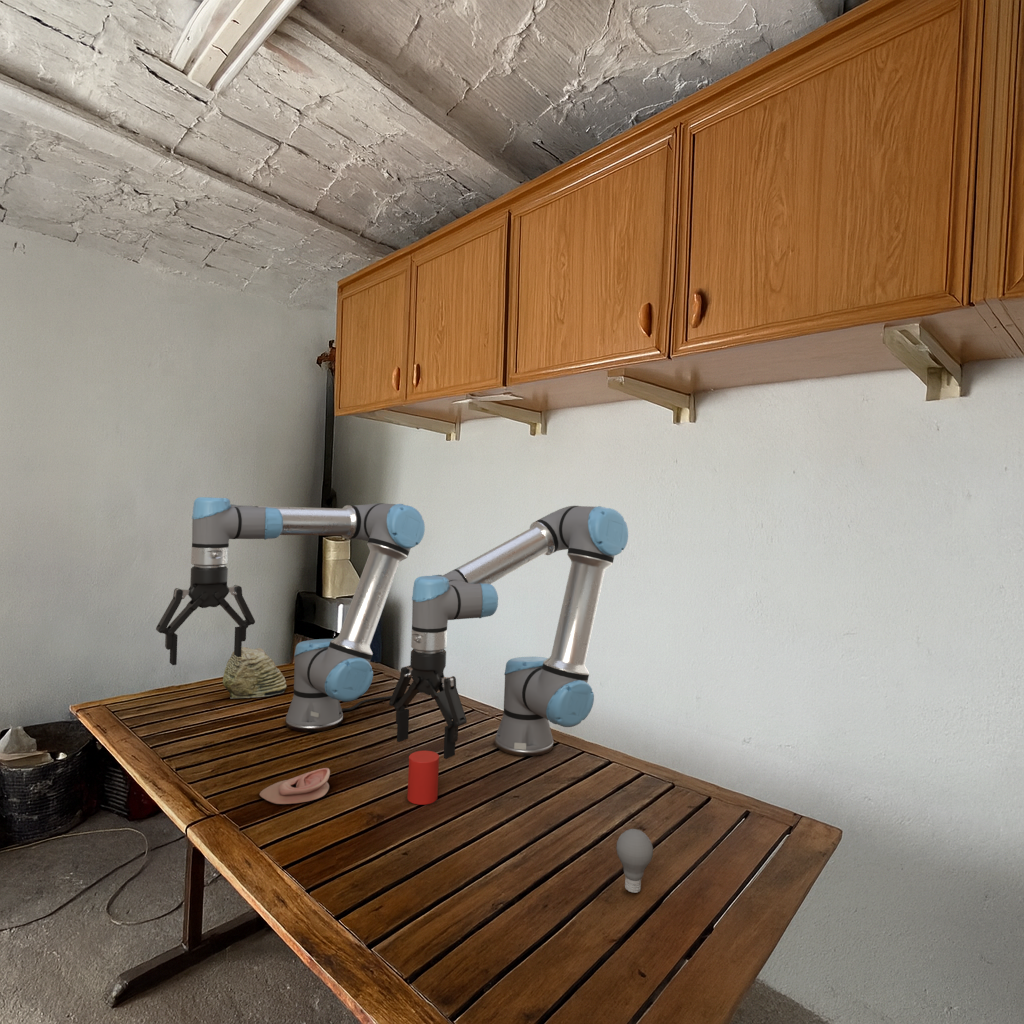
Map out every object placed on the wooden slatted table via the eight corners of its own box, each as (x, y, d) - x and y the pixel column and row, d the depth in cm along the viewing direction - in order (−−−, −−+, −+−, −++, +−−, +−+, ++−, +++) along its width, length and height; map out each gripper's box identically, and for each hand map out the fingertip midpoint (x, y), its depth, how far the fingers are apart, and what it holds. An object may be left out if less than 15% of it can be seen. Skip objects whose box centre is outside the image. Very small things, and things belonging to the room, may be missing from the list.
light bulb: (610, 879, 108) (613, 822, 108) (644, 879, 109) (647, 822, 109) (619, 902, 102) (622, 840, 102) (655, 901, 103) (658, 840, 103)
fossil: (218, 695, 195) (220, 647, 195) (278, 685, 208) (279, 640, 207) (228, 703, 189) (230, 653, 188) (289, 692, 201) (290, 645, 201)
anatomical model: (251, 781, 130) (282, 759, 142) (250, 800, 131) (281, 776, 142) (310, 789, 128) (337, 767, 139) (309, 809, 128) (336, 784, 139)
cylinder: (424, 788, 140) (425, 748, 140) (443, 798, 136) (445, 756, 135) (401, 797, 135) (402, 756, 135) (420, 808, 131) (422, 765, 131)
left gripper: (150, 569, 131) (147, 671, 132) (271, 565, 148) (268, 655, 148) (143, 565, 137) (139, 663, 137) (259, 562, 153) (256, 649, 154)
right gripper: (375, 642, 139) (371, 738, 139) (462, 663, 125) (458, 770, 125) (399, 637, 145) (396, 729, 146) (485, 656, 131) (481, 758, 131)
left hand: (206, 659), depth 143 cm, fingers open, 13 cm apart
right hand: (425, 748), depth 135 cm, fingers open, 13 cm apart
